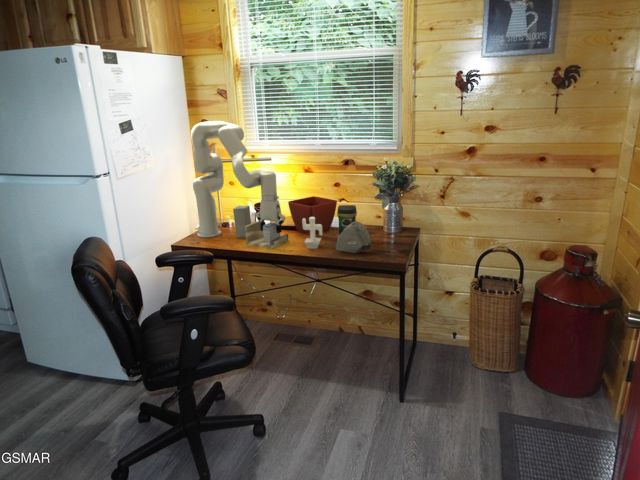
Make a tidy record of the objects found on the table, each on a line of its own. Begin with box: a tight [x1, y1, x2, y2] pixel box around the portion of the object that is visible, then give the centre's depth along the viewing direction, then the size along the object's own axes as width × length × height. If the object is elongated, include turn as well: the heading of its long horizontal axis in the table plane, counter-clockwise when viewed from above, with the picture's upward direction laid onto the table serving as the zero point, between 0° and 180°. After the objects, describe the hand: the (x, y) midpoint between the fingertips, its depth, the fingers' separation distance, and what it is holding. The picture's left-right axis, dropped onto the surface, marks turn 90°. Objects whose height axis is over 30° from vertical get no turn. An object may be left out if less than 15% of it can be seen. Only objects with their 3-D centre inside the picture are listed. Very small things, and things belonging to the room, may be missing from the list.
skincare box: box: [232, 205, 252, 239], centre depth 246 cm, size 8×7×16 cm
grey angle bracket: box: [245, 220, 289, 249], centre depth 234 cm, size 16×14×10 cm
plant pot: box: [287, 195, 338, 236], centre depth 249 cm, size 19×19×17 cm
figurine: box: [302, 217, 324, 250], centre depth 223 cm, size 7×9×15 cm
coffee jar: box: [336, 204, 358, 238], centre depth 230 cm, size 10×8×19 cm
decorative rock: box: [335, 220, 372, 254], centre depth 214 cm, size 16×7×15 cm, turn 74°
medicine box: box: [263, 221, 282, 243], centre depth 232 cm, size 8×4×9 cm, turn 143°
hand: (271, 231), depth 232 cm, fingers open, 9 cm apart
